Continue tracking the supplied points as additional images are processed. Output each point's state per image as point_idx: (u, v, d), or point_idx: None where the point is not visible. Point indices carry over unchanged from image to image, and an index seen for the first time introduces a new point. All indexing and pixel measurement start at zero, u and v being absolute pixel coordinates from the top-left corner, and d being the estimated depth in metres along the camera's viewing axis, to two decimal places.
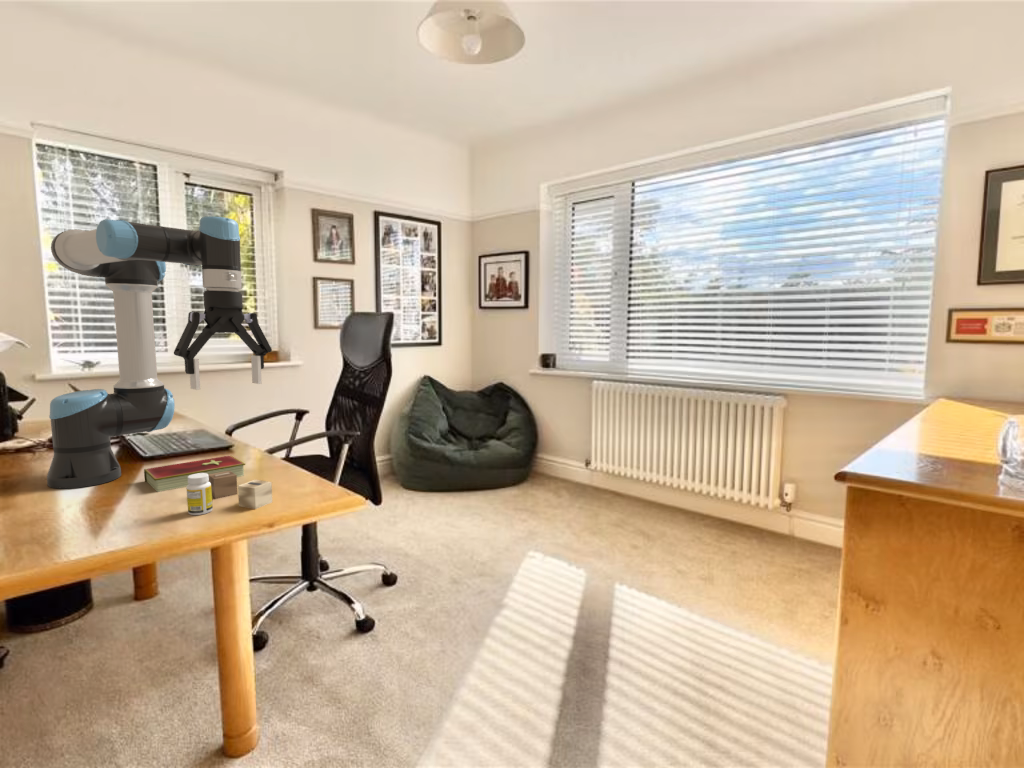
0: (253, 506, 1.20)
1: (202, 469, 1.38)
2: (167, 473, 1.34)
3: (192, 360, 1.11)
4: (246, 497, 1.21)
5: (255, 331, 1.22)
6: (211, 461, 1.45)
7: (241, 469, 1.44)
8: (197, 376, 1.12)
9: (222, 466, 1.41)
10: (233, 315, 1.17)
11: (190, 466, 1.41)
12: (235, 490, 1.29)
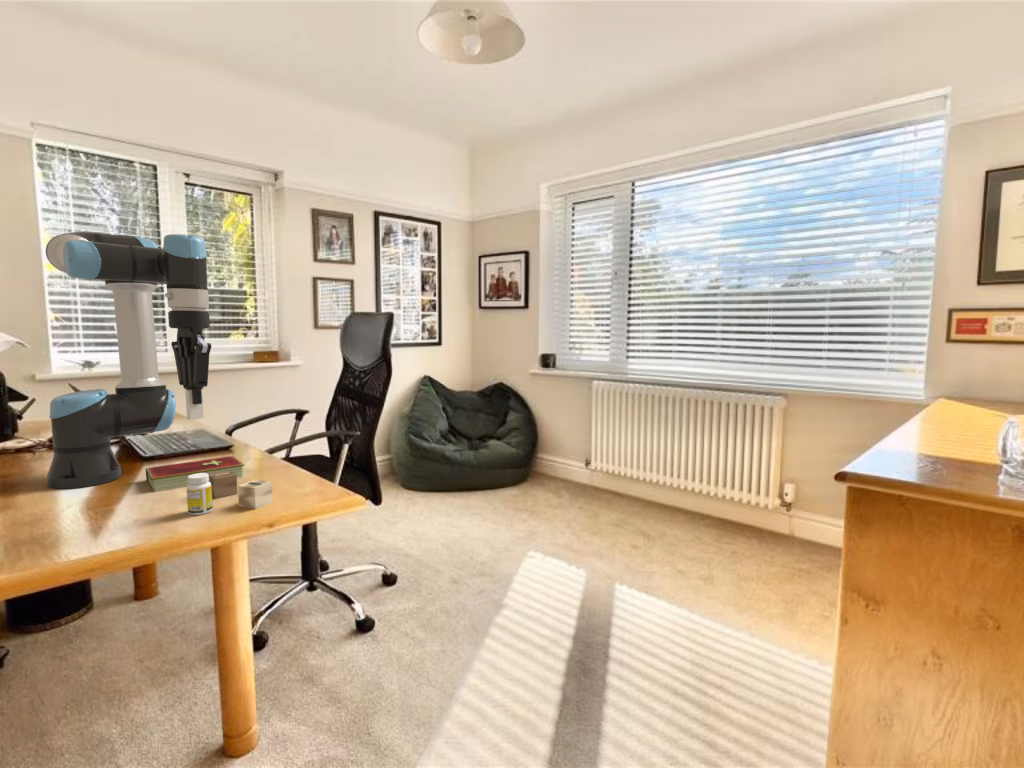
0: (253, 506, 1.20)
1: (200, 469, 1.38)
2: (165, 473, 1.34)
3: None
4: (246, 497, 1.21)
5: None
6: (212, 461, 1.44)
7: (240, 470, 1.43)
8: (187, 406, 1.14)
9: (221, 467, 1.40)
10: (189, 331, 1.11)
11: (190, 466, 1.41)
12: (235, 490, 1.29)
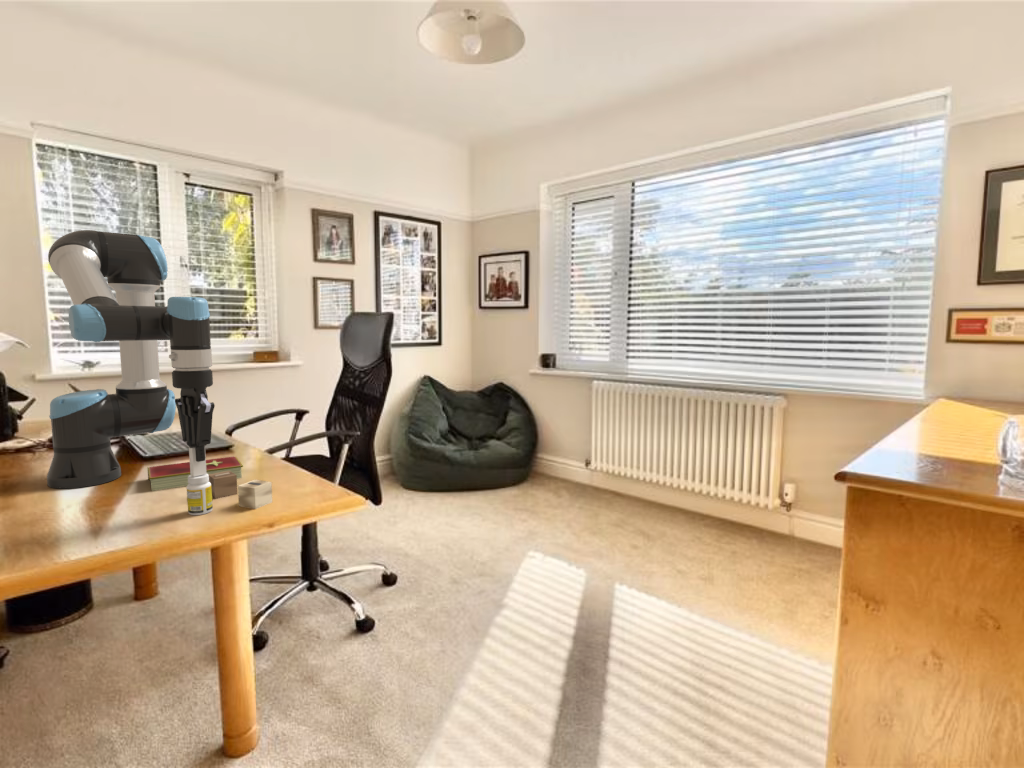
0: (253, 506, 1.20)
1: None
2: (164, 472, 1.35)
3: None
4: (246, 497, 1.21)
5: None
6: (212, 462, 1.44)
7: (239, 471, 1.42)
8: (190, 463, 1.15)
9: (219, 467, 1.40)
10: (192, 390, 1.12)
11: None
12: (235, 490, 1.29)
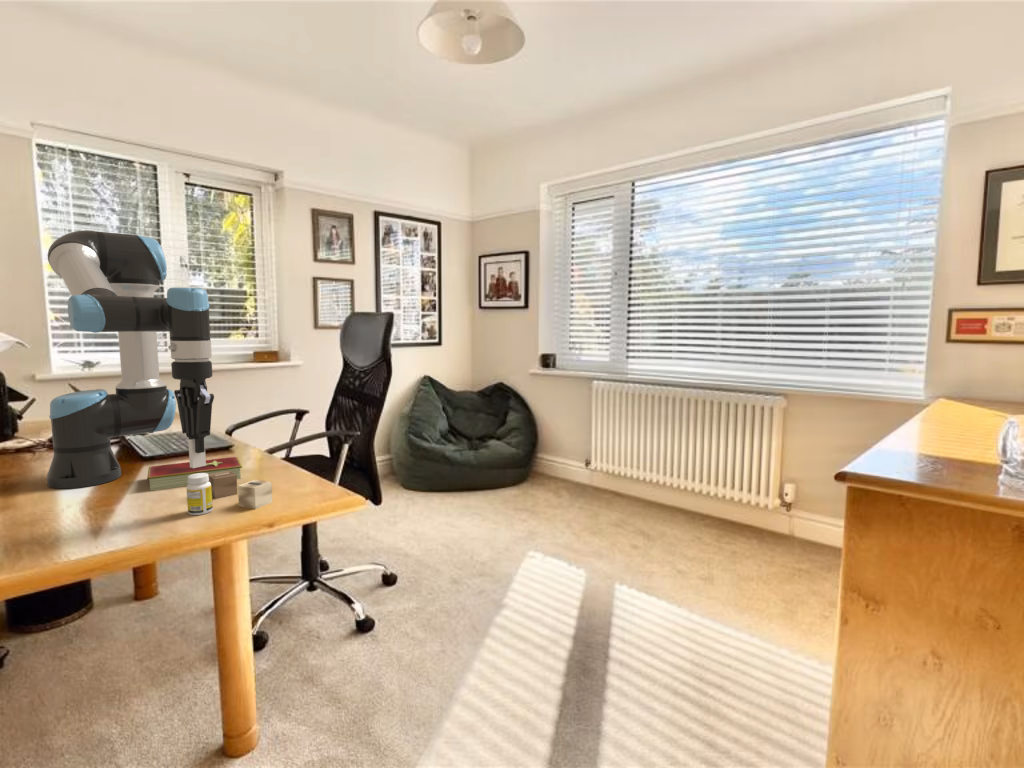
0: (253, 506, 1.20)
1: (197, 469, 1.37)
2: (163, 472, 1.35)
3: None
4: (246, 497, 1.21)
5: None
6: (213, 462, 1.44)
7: (238, 472, 1.42)
8: (189, 454, 1.15)
9: (218, 468, 1.39)
10: (192, 382, 1.12)
11: None
12: (235, 490, 1.29)
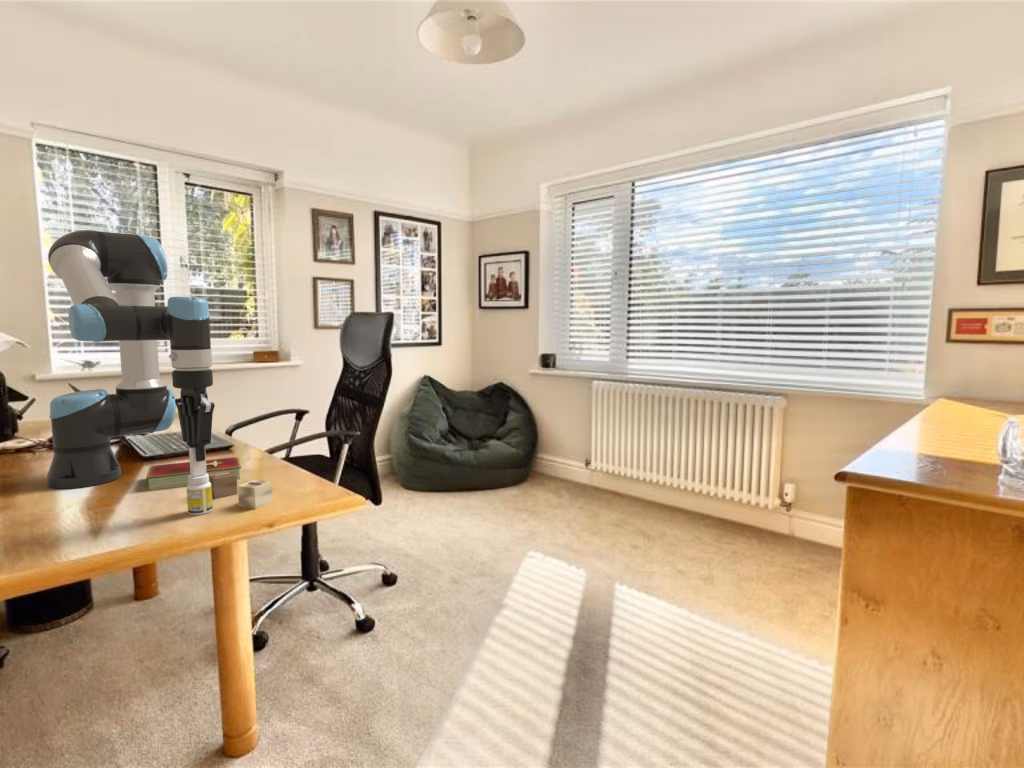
0: (253, 506, 1.20)
1: None
2: (163, 472, 1.35)
3: None
4: (246, 497, 1.21)
5: None
6: (213, 462, 1.44)
7: (237, 472, 1.41)
8: (190, 463, 1.15)
9: (217, 468, 1.39)
10: (192, 390, 1.12)
11: None
12: (235, 490, 1.29)
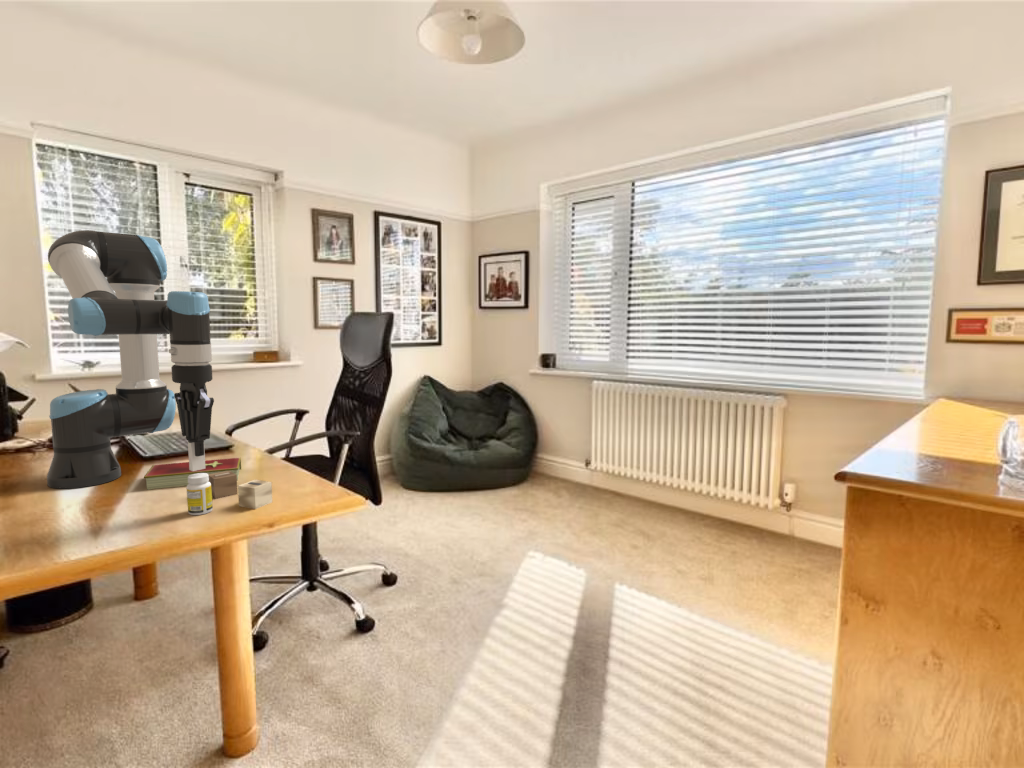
0: (253, 506, 1.20)
1: None
2: (162, 471, 1.35)
3: None
4: (246, 497, 1.21)
5: None
6: (213, 462, 1.43)
7: (234, 473, 1.40)
8: (189, 457, 1.16)
9: (215, 469, 1.38)
10: (192, 385, 1.12)
11: None
12: (235, 490, 1.29)
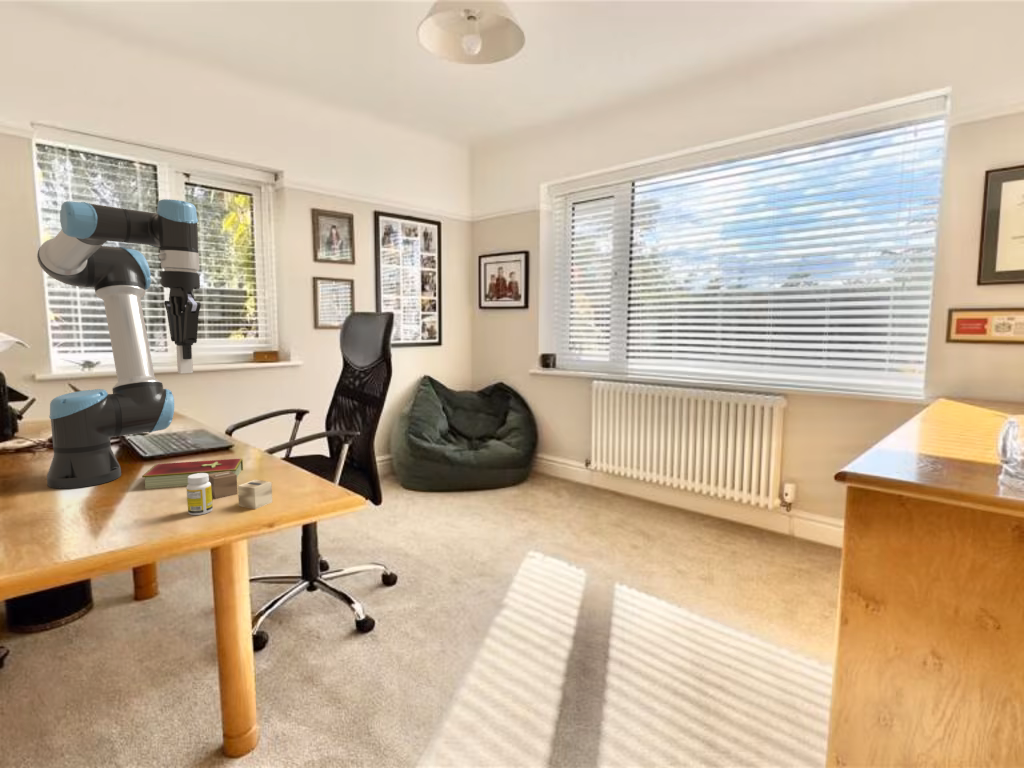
0: (253, 506, 1.20)
1: (193, 470, 1.37)
2: (161, 471, 1.36)
3: None
4: (246, 497, 1.21)
5: None
6: (213, 463, 1.43)
7: None
8: (177, 361, 1.23)
9: (213, 470, 1.38)
10: (180, 290, 1.19)
11: (191, 466, 1.41)
12: (235, 490, 1.29)
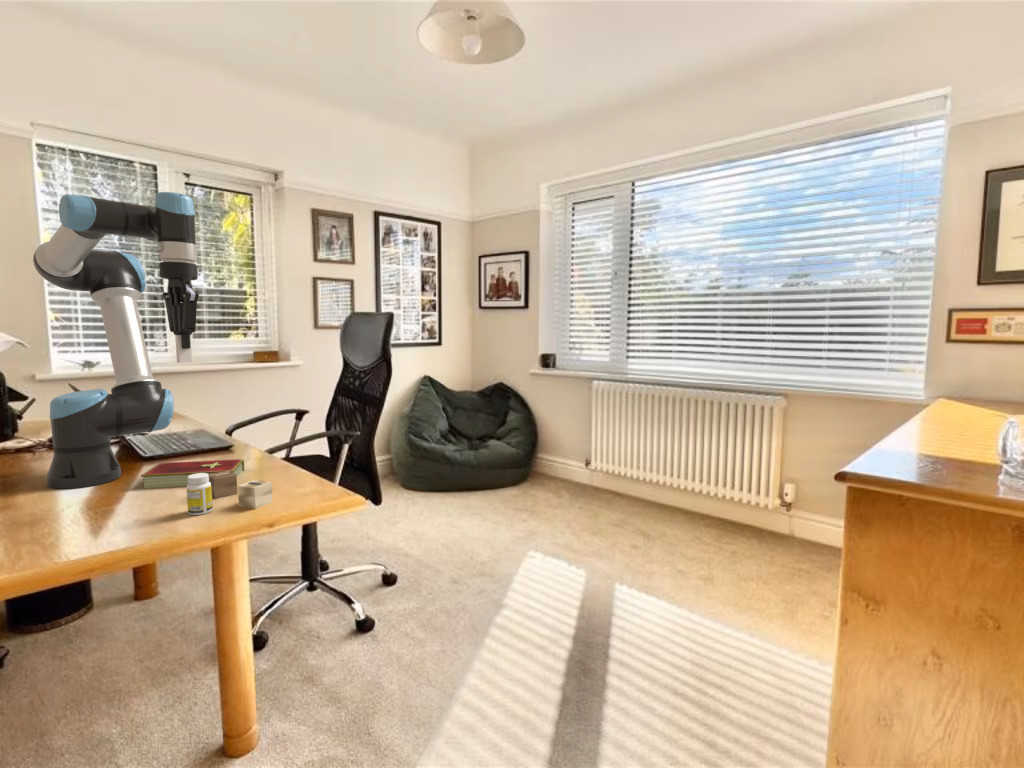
0: (253, 506, 1.20)
1: (191, 471, 1.36)
2: (161, 470, 1.36)
3: None
4: (246, 497, 1.21)
5: None
6: (213, 463, 1.43)
7: None
8: (176, 350, 1.25)
9: (210, 470, 1.37)
10: (178, 281, 1.22)
11: (191, 466, 1.41)
12: (235, 490, 1.29)
